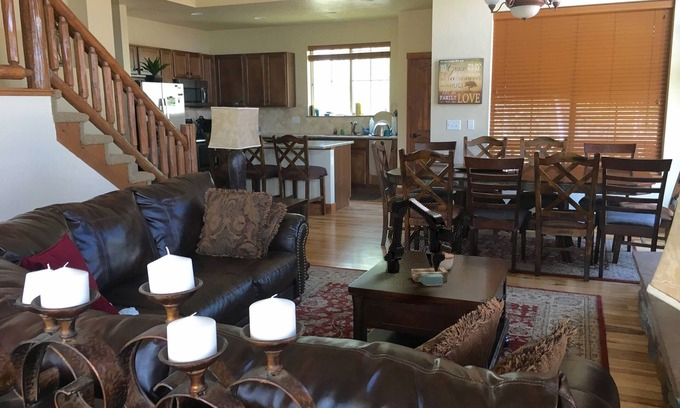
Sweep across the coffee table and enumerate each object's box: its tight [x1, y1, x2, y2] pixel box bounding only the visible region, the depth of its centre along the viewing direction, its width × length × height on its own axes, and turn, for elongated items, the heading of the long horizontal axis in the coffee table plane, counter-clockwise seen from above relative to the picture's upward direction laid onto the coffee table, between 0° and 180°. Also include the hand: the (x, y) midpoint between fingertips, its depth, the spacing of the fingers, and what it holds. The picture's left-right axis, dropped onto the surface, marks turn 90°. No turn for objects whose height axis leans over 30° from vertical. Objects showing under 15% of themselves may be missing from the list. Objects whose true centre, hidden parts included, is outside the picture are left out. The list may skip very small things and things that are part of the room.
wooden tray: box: [410, 267, 449, 283], centre depth 295 cm, size 17×8×5 cm, turn 96°
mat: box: [425, 283, 444, 287], centre depth 287 cm, size 9×5×1 cm, turn 96°
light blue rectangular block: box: [420, 274, 444, 286], centre depth 287 cm, size 10×4×4 cm, turn 97°
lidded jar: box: [439, 251, 455, 271], centre depth 316 cm, size 11×11×9 cm
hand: (433, 269), depth 286 cm, fingers open, 9 cm apart
